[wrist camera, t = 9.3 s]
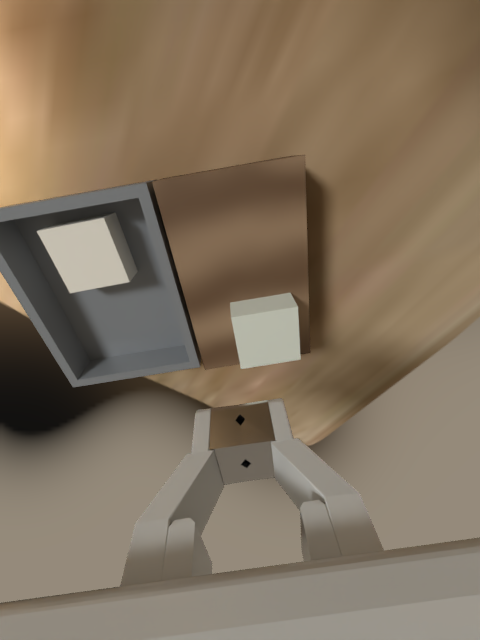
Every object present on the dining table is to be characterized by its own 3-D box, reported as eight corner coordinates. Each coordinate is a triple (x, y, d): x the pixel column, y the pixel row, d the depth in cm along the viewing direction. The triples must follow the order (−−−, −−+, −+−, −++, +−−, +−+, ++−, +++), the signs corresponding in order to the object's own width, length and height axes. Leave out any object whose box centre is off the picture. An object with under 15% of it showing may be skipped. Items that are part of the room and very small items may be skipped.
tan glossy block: (163, 178, 21) (151, 181, 18) (291, 155, 21) (305, 154, 18) (206, 345, 29) (205, 369, 26) (299, 330, 29) (310, 352, 26)
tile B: (229, 302, 22) (230, 317, 20) (290, 292, 22) (297, 306, 20) (239, 351, 25) (241, 369, 23) (293, 342, 25) (300, 359, 23)
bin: (0, 207, 22) (-36, 214, 19) (156, 179, 21) (146, 182, 18) (88, 364, 30) (73, 387, 27) (202, 345, 29) (200, 367, 26)
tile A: (103, 217, 20) (115, 212, 22) (36, 231, 20) (54, 224, 22) (129, 282, 22) (137, 271, 24) (70, 293, 22) (83, 281, 24)
